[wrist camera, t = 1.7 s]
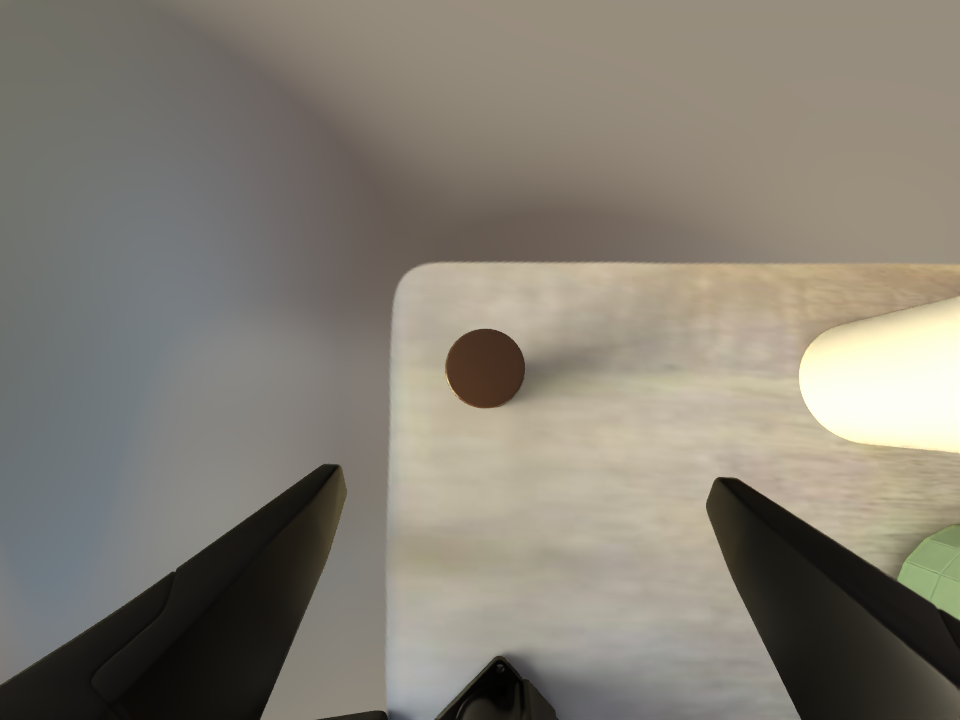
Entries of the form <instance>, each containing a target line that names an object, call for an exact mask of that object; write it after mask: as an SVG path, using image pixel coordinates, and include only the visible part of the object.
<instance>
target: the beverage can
mask: <svg viewBox="0 0 960 720" xmlns="http://www.w3.org/2000/svg"><path fill="white" fill-rule="evenodd" d="M799 381H800V388H801V392H802V395H803V398H804V401H805V403H806V405H807V407H808V408H809V410H810V411H811V413H812V414H813V415H814V417H815V418H816V419H817V420H818V421H819V422H820V423H821V424H822V425H823V426H824V427H826V428H827V429H828V430H830V431H831V432H833V433H834V434H836V435H838V436H840V437H842V438H844V439H847V440H850V441H853V442H857V443H863V444H872V445H882V446H892V447H902V448H912V449H922V450H932V451H943V452H953V453H960V296H957V297H953V298H949V299H945V300H941V301H937V302H933V303H929V304H924V305H920V306H916V307H912V308H908V309H904V310H900V311H895V312H891V313H887V314H883V315H879V316H875V317H871V318H867V319H862V320H858V321H854V322H850V323H846V324H842V325H838V326H835V327H833V328H830V329H828V330H826V331H825V332H823V333H822V334H820V335H819V336H818V337H817V338H816V339H815V340H814V341H813V342H812V343H811V344H810V345H809V347H808V348H807V350H806V352H805V354H804V356H803V358H802V361H801V365H800V371H799Z"/></svg>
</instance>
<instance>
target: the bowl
mask: <svg viewBox="0 0 960 720" xmlns="http://www.w3.org/2000/svg"><path fill="white" fill-rule="evenodd" d="M897 581H899V582H900V583H902V584H903V585H905V586H906V587H908V588H910V589H911V590H913V591H914V592H916V593H917V594H919V595H921V596H922V597H924V598H925V599H927V600H928V601H930V602H932V603H933V604H934V605H935V606H936V607H937V609H938V608H939V609H943V610H944V611H946V612H947V613H949V614H950V615H952V616H954V617H955V618H957V619H958V620H960V524H956V525H951V526H949V527H947V528H945V529H943V530H941V531H939V532H937V533H935V534H933V535H931V536H929V537H927V538H925V539H924V540H923V541H922V542H921V543H920V544H919V545H918V547H917V548H916V549H915V550H914V551H913V552H912V553H911V554H910V555H909V556H908V557H907V559H906V560H905V562H904V564H903V566H902V569H901V571H900V574H899V576H898V579H897Z"/></svg>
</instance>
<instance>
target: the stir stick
mask: <svg viewBox="0 0 960 720" xmlns="http://www.w3.org/2000/svg"><path fill="white" fill-rule="evenodd" d="M445 373H446V378H447V382H448V384H449V386H450V388H451V390H452V392H453V393H454V394H455V395H456V396H457V397H458V398H459V399H460V400H461V401H463V402H464V403H466V404H468V405H470V406H473V407H477V408H495V407H499V406H501V405H503V404H505V403H506V402H507V401H509V400H510V399H511V398H512V397H513V396H514V395H515V394H516V393H517V392H518V390H519V389H520V387H521V385H522V382H523V379H524V375H525V362H524V357H523V355H522V352H521V350H520V348H519V347H518V345H517V344H516V343H515V342H514V340H512V339H511V338H510V337H509V336H507V335H506V334H504V333H502V332H500V331H497V330H492V329H478V330H474V331H471V332H469V333H467V334H465V335H463V336H462V337H460V338H459V339H458V340H457V341H456V342H455V343H454V345H453V346H452V347H451V349H450V351H449V353H448V356H447V359H446V365H445Z"/></svg>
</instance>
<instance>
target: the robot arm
mask: <svg viewBox="0 0 960 720" xmlns="http://www.w3.org/2000/svg"><path fill="white" fill-rule="evenodd" d="M346 495H347V489H346V484H345V479H344V475H343V470H342V467H341V466H340V465H338V464H323V465H321V466H320V467H318V468H317V469H315V470H314V471H313V472H312V473H310V474H308V475H307V476H306V477H304V478H303V479H302V480H300V481H299V482H297V483H296V484H295V485H293V486H292V487H290V488H289V489H287V490H286V491H285V492H283V493H282V494H280V495H279V496H278V497H277V498H275V499H274V500H272V501H271V502H269V503H268V504H266V505H265V506H264V507H262V508H261V509H260V510H258V511H257V512H255V513H254V514H253V515H251V516H250V517H248V518H247V519H246V520H244V521H243V522H241V523H240V524H239V525H237V526H236V527H235V528H233V529H231V530H230V531H229V532H227V533H226V534H225V535H223V536H222V537H220V538H219V539H217V540H216V541H215V542H213V543H212V544H210V545H209V546H208V547H206V548H205V549H203V550H202V551H201V552H199V553H198V554H196V555H195V556H194V557H192V558H191V559H189V560H188V561H187V562H185V563H184V564H182V565H181V566H180V567H178V568H177V569H176V572H171V573H170V574H168V575H167V576H165V577H164V578H163V579H161V580H160V581H159V582H157V583H156V584H154V585H153V586H151V587H150V588H148V589H147V590H146V591H144V592H143V593H141V594H140V595H138V596H137V597H135V598H134V599H133V600H131V601H130V602H128V603H127V604H125V605H124V606H122V607H121V608H120V609H118V610H116V611H115V612H113V613H112V614H110V615H109V616H108V617H106V618H104V619H103V620H101V621H100V622H98V623H97V624H95V625H94V626H92V627H90V628H89V629H87V630H86V631H84V632H83V633H81V634H80V635H78V636H77V637H75V638H74V639H72V640H70V641H69V642H67V643H66V644H64V645H62V646H61V647H59V648H58V649H56V650H55V651H53V652H52V653H50V654H48V655H47V656H45V657H44V658H42V659H41V660H39V661H37V662H36V663H34V664H33V665H31V666H29V667H28V668H26V669H25V670H23V671H22V672H20V673H19V674H17V675H16V676H14V677H12V678H11V679H9V680H8V681H6V682H4V683H3V684H1V685H0V720H260V718H261V716H262V713H263V711H264V708H265V707H266V704H267V702H268V699H269V697H270V695H271V692H272V690H273V688H274V685H275V683H276V680H277V678H278V676H279V673H280V671H281V669H282V666H283V664H284V661H285V659H286V657H287V654H288V652H289V649H290V647H291V645H292V642H293V640H294V637H295V635H296V633H297V630H298V628H299V626H300V623H301V621H302V619H303V616H304V614H305V611H306V609H307V607H308V604H309V602H310V600H311V597H312V595H313V592H314V590H315V588H316V585H317V583H318V581H319V578H320V576H321V573H322V571H323V569H324V566H325V564H326V561H327V558H328V555H329V552H330V549H331V546H332V543H333V539H334V536H335V533H336V529H337V526H338V523H339V520H340V516H341V513H342V510H343V506H344V503H345V500H346ZM706 509H707V513H708V516H709V519H710V521H711V524H712V527H713V529H714V532H715V535H716V537H717V540H718V543H719V545H720V548H721V551H722V553H723V556H724V559H725V561H726V564H727V567H728V569H729V572H730V574H731V576H732V579H733V581H734V583H735V585H736V587H737V590H738V592H739V594H740V596H741V598H742V600H743V602H744V604H745V606H746V608H747V610H748V612H749V614H750V616H751V618H752V620H753V622H754V624H755V626H756V628H757V630H758V632H759V634H760V636H761V638H762V641H763V643H764V645H765V647H766V649H767V651H768V653H769V655H770V657H771V659H772V661H773V663H774V665H775V667H776V669H777V671H778V673H779V675H780V677H781V679H782V681H783V683H784V685H785V687H786V690H787V692H788V694H789V696H790V698H791V700H792V702H793V704H794V706H795V708H796V710H797V712H798V714H799V716H800V718H801V720H960V620H958V619H957V618H955V617H954V616H952V615H950V614H949V613H947V612H946V611H944V610H943V609H939V608H938V609H937V607H936V606H935V605H934V604H933V603H932V602H930V601H928V600H927V599H925V598H924V597H922V596H921V595H919V594H917V593H916V592H914V591H913V590H911V589H910V588H908V587H906V586H905V585H903V584H902V583H900V582H899V581H897V580H896V579H894V578H892V577H891V576H889V575H888V574H886V573H885V572H883V571H881V570H880V569H878V568H877V567H875V566H874V565H872V564H870V563H869V562H867V561H866V560H864V559H863V558H861V557H860V556H858V555H856V554H855V553H853V552H852V551H850V550H849V549H847V548H845V547H844V546H842V545H841V544H839V543H838V542H836V541H834V540H833V539H831V538H830V537H828V536H827V535H825V534H824V533H822V532H820V531H819V530H817V529H816V528H814V527H813V526H811V525H809V524H808V523H806V522H805V521H803V520H802V519H800V518H798V517H797V516H795V515H794V514H792V513H791V512H789V511H788V510H786V509H784V508H783V507H781V506H780V505H778V504H777V503H775V502H773V501H772V500H770V499H769V498H767V497H766V496H764V495H762V494H761V493H759V492H758V491H756V490H755V489H753V488H752V487H750V486H748V485H747V484H745V483H744V482H742V481H741V480H739V479H737V478H732V477H718V478H716V479H715V480H714V483H713V485H712V488H711V491H710V494H709V496H708V499H707V503H706ZM498 664H502V665H503V667H502V668H498V667H497V665H498ZM434 720H558V719H557V717H556V713H555V710H554V709H553V707H552V706H551V705H550V704H549V703H548V702H547V700H546V699H545V698H544V697H543V696H542V695H541V694H540V692H539V691H538V690H537V689H536V688H535V687H534V686H533V684H532V683H531V682H530V681H529V680H527V679H523V678H522V677H521V676H520V675H519V674H518V672H517V671H516V670H515V669H514V668H513V667H512V666H511V664H510V663H509V662H508V661H507V660H506V659H505V658H504V657H503V656H496V657H495V658H494V659H493V660H492V661H491V662H490V663H489V664H488V665H487V666H486V667H485V668H484V669H483V670H482V671H481V672H480V673H479V674H478V675H477V676H476V677H475V678H474V679H473V680H472V681H471V682H470V683H469V684H468V685H467V686H466V688H465V689H464V690H463V691H462V692H461V693H460V694H459V695H458V696H457V697H456V698H455V699H454V700H453V701H452V702H451V703H450V704H449V705H448V706H447V707H446V708H445V709H444V710H443V711H442V712H441V713H440V714H439V715H438V716H437V717H436V718H435V719H434Z"/></svg>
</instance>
